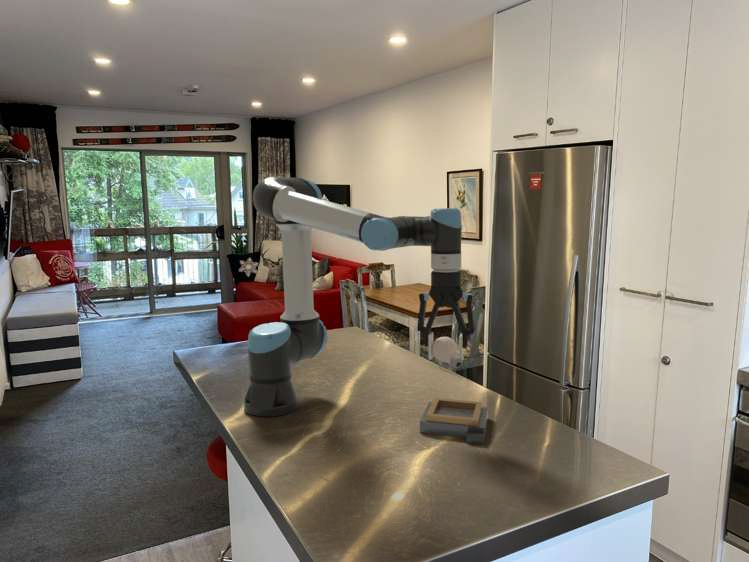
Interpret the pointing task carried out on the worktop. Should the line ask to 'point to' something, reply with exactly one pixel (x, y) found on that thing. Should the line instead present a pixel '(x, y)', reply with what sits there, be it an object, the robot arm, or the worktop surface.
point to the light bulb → (446, 351)
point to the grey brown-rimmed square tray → (455, 419)
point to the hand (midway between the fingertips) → (446, 359)
